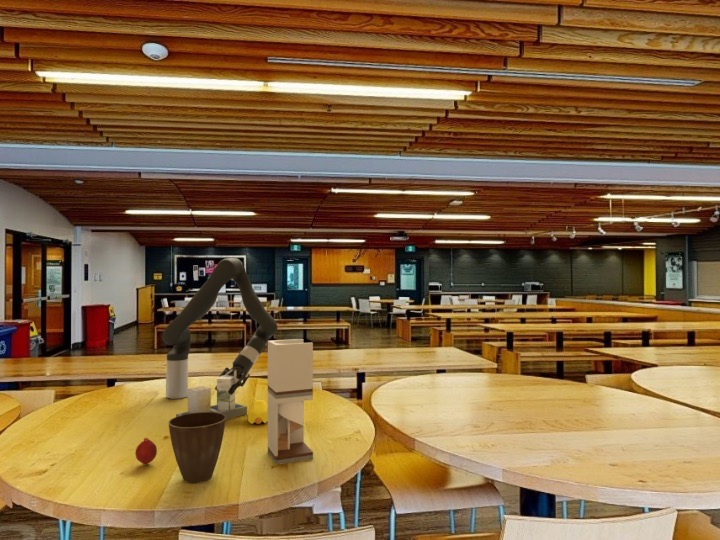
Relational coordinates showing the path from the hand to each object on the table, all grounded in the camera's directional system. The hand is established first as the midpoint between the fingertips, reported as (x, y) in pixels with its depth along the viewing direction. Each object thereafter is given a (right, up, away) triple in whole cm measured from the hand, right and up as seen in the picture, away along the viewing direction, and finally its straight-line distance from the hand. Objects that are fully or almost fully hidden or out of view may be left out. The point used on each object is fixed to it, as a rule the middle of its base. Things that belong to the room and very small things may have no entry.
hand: (223, 392), depth 192 cm
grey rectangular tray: (-3, -9, -4) cm, 10 cm away
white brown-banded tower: (+33, -9, -44) cm, 56 cm away
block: (-7, -9, -9) cm, 14 cm away
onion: (-8, -9, -51) cm, 52 cm away
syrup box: (+1, -9, +1) cm, 9 cm away
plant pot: (+10, -8, -60) cm, 61 cm away
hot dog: (+15, -10, -5) cm, 19 cm away
